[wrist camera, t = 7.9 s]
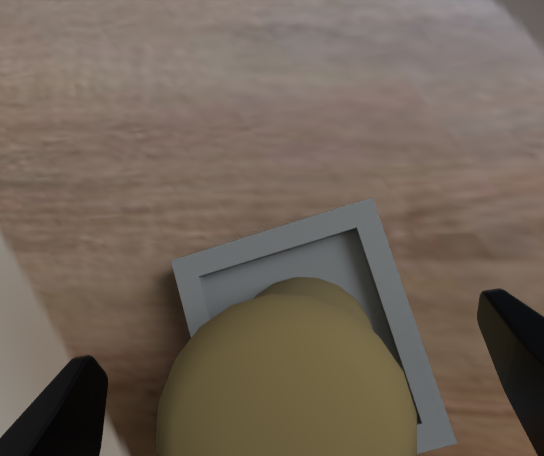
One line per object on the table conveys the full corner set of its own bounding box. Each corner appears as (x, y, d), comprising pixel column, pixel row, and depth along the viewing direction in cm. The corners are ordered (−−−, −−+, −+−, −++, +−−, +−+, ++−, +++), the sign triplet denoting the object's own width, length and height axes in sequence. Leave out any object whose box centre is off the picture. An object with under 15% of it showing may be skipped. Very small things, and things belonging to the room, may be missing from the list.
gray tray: (442, 425, 18) (456, 443, 16) (242, 478, 19) (233, 502, 17) (367, 205, 19) (372, 197, 17) (185, 262, 20) (171, 260, 18)
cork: (269, 446, 17) (183, 721, 7) (212, 311, 18) (55, 358, 8) (402, 386, 17) (543, 574, 6) (337, 253, 18) (360, 214, 7)
